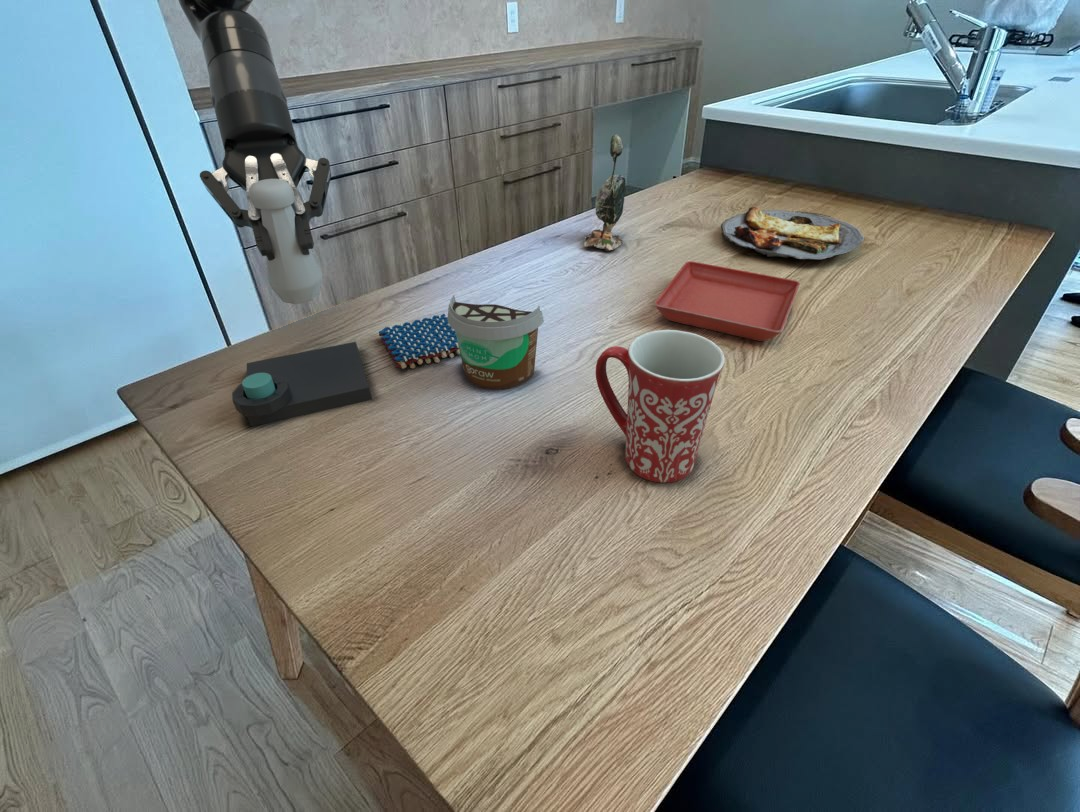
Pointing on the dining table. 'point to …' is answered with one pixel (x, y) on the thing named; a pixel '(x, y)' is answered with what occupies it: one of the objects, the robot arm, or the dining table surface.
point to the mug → (663, 399)
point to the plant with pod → (609, 205)
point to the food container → (495, 343)
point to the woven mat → (420, 341)
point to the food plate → (791, 233)
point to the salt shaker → (285, 244)
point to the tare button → (258, 386)
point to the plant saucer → (728, 300)
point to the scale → (306, 384)
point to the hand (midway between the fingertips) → (288, 254)
